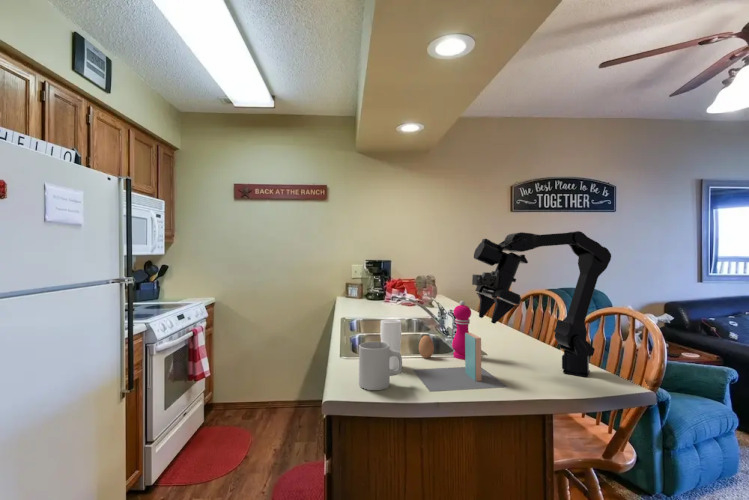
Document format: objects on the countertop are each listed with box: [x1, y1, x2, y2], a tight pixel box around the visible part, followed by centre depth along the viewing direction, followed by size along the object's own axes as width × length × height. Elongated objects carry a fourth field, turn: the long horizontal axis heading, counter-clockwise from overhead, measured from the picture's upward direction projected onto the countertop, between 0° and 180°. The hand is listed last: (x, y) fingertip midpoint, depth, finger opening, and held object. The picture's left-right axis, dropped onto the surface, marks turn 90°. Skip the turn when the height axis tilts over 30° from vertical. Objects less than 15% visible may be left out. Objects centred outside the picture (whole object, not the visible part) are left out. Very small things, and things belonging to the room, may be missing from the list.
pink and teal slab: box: [464, 332, 482, 381], centre depth 102 cm, size 2×7×12 cm, turn 8°
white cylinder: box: [379, 318, 403, 370], centre depth 111 cm, size 7×7×15 cm
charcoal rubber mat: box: [412, 366, 509, 393], centre depth 101 cm, size 22×18×1 cm
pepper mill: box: [451, 300, 472, 361], centre depth 122 cm, size 7×7×20 cm
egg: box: [418, 335, 435, 359], centre depth 122 cm, size 5×5×8 cm
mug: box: [358, 341, 403, 391], centre depth 97 cm, size 12×8×11 cm
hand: (486, 320), depth 105 cm, fingers open, 9 cm apart
